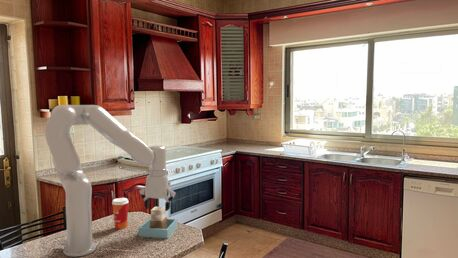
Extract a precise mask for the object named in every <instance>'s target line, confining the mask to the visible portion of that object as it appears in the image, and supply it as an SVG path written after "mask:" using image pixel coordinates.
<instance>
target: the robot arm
mask: <svg viewBox="0 0 458 258" xmlns="http://www.w3.org/2000/svg"><path fill="white" fill-rule="evenodd" d="M73 125H74V126H77V125H78V126H79V125H80V126H81V125H82V126H83V125H90V126H91V127H92V128H93V129H95V131H97V132H98V133H99V134H101V136H103V137H104V138H105V139H106V140H108V141H109V142H110V143H111V144H113V145H114V146H116V147H117V148H120V149H121V150H123V151H124V152H126V153H127V154H128V155H129V157H130V158H131V160H133V161H134V162H135V163H137V164H139V165H141V166H148V169H146V173H147V174H148V175H147V176H146V181H145V187H144V188H142V189H140V190H139V191H138V192H139V194H140V197H141V198H142V199H143V201H144V207H145V210H148V209H149V208H150V203H151V202H150V201H151V200H150V199H162V200H163V199H164V200H165V203H164V204H165V206H164V207H165V212H167V211H169V210H170V209H171V201H172V200H173V199H174V198H175V196H176V193H177V192H175V191H174V190H172V189H170V188H169V187H170V186H169V179H168V175H167V174H166V173H167V167H166V166H167V150H166V147H165V145H164V146H163V145H152V146H151V145H149V146H147V145H146V144H145V143H144V142H143V141H142V140H140V139H139V138H138V137H137V136H136V135H135V134H133V132H131V131H130V130H128V128H127V127H125V126H124V125H123V124H122V123H120V121H118V120H117V119H116V118H115V117H114V116H113V115H112V114H110V112H108V111H107V110H106V109H105V108H103V107H102V106H101V105H97V104H59V105H56V106H54V108H52V110H51V113H50V116H49V118H48V119H47V121H46V124H45V127H44V137H45V140H46V143H47V147H48V149H49V151H50V154H51V159H52V164H53V167H54V169H55V172H56V174H57V176H58V178H59V181H60V182H61V183H60V184H61V185H62V187H63V190H64V192H65V219H66V220H65V221H66V237H61V238H60V242H59V245H61V246H64V248H63V255H64V256H67V257H71V258H73V257H74V258H75V257H83V256H86V255H90V254H92V253H93V252H94V251H95V250H97V249H98V244H97V243H96V242H95V241H93V219H92V217H93V216H92V215H93V214H92V193H93V192H92V191H93V188H92V183H91V181H90V179H89V178H88V177H87V175H85V173H84V171H83V168H82V166H81V158H80V155H79V154H78V152H77V150H76V148H75V146H74V143H73V140H72V137H71V133H70V132H71V131H70V130H71V127H72V126H73ZM169 194H170V196H169Z"/></svg>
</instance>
